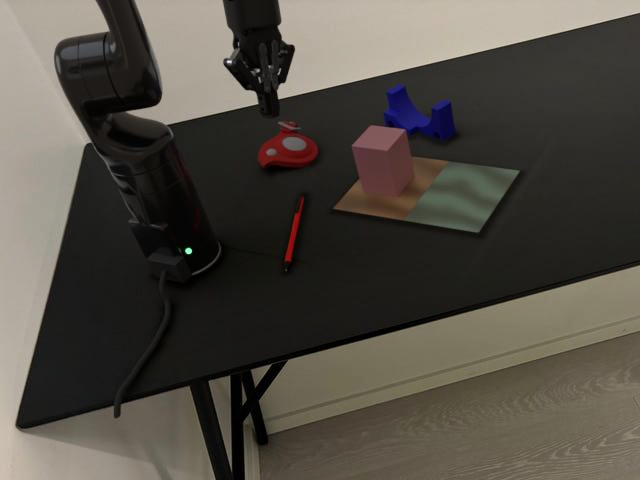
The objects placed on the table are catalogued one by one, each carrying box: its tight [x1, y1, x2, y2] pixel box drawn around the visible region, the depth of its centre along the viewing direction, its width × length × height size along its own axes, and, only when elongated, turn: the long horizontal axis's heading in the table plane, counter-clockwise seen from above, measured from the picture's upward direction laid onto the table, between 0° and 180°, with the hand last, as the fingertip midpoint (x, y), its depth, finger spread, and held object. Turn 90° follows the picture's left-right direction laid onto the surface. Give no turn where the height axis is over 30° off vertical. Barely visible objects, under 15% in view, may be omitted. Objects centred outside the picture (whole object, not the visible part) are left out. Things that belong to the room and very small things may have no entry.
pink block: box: [351, 124, 415, 197], centre depth 126 cm, size 6×6×8 cm
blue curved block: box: [382, 83, 456, 142], centre depth 138 cm, size 12×4×6 cm, turn 47°
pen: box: [284, 192, 305, 272], centre depth 123 cm, size 1×19×1 cm, turn 1°
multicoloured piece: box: [332, 155, 521, 234], centre depth 127 cm, size 16×24×1 cm, turn 65°
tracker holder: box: [257, 121, 319, 170], centre depth 138 cm, size 12×4×10 cm
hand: (271, 117), depth 125 cm, fingers closed
